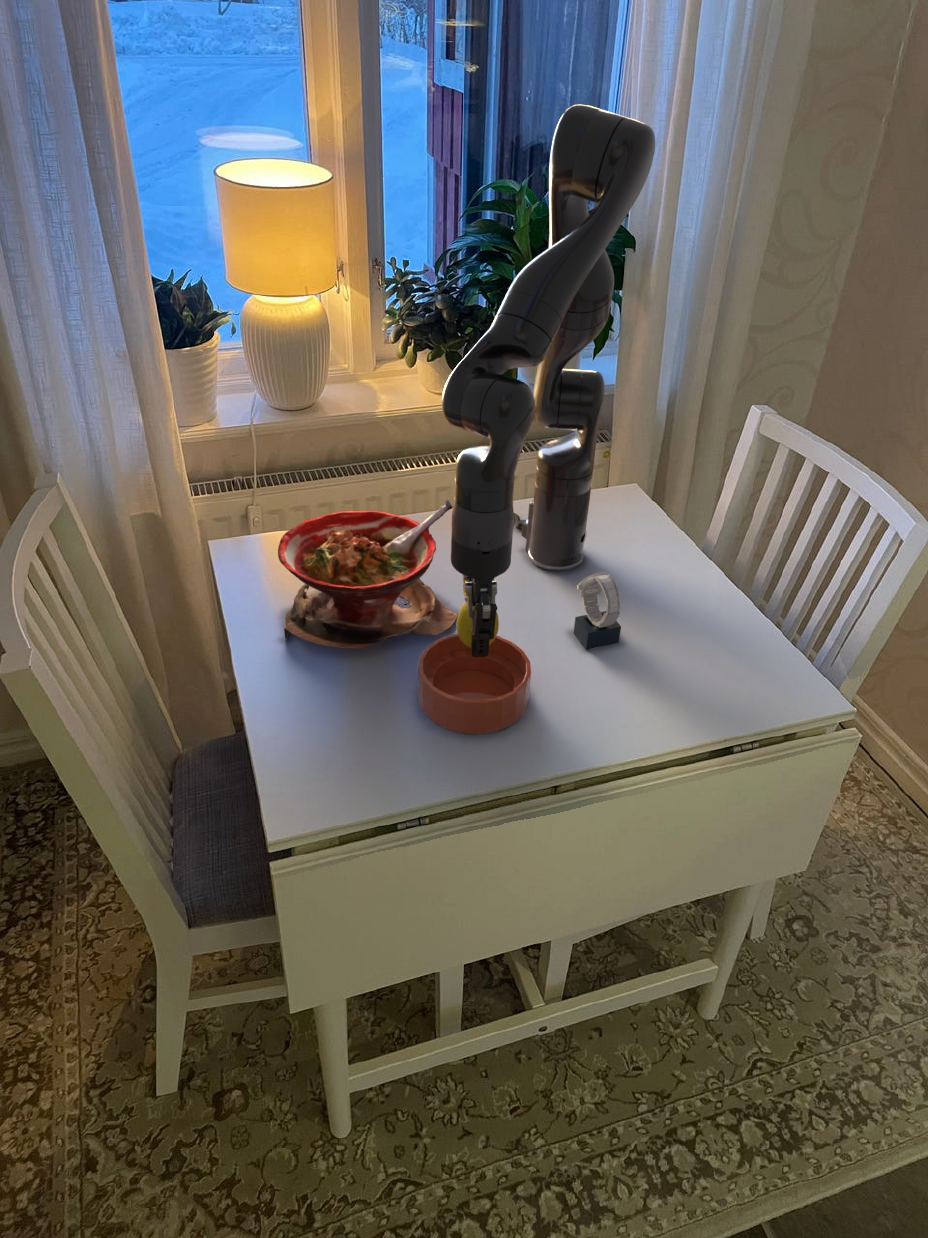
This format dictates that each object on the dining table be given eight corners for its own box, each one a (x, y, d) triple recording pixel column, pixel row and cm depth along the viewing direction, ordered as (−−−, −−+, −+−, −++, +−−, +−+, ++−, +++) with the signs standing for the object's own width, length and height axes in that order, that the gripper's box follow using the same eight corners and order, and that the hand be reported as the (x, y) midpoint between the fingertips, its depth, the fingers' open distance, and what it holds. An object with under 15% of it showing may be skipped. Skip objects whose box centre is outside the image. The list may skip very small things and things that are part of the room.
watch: (599, 619, 146) (608, 560, 140) (624, 649, 140) (634, 589, 134) (567, 626, 145) (574, 566, 138) (590, 656, 138) (599, 595, 132)
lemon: (493, 664, 122) (496, 614, 117) (451, 657, 123) (453, 608, 118) (500, 639, 126) (503, 590, 122) (460, 633, 127) (462, 584, 123)
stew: (433, 559, 159) (434, 474, 150) (478, 641, 141) (482, 550, 131) (268, 583, 152) (258, 495, 142) (292, 673, 133) (283, 579, 124)
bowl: (397, 689, 131) (397, 656, 128) (483, 652, 138) (485, 620, 135) (461, 752, 121) (462, 718, 118) (550, 709, 129) (553, 675, 125)
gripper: (446, 503, 119) (443, 611, 129) (457, 564, 108) (454, 676, 118) (504, 502, 120) (497, 608, 130) (521, 561, 109) (512, 674, 119)
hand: (476, 640), depth 124 cm, fingers closed on lemon, 5 cm apart
